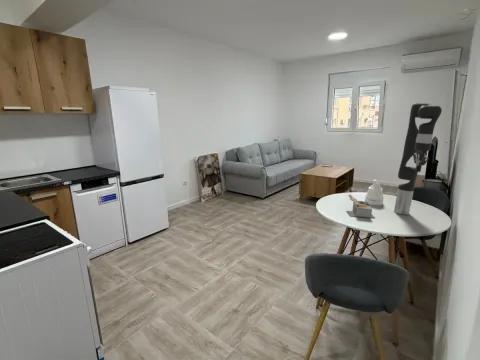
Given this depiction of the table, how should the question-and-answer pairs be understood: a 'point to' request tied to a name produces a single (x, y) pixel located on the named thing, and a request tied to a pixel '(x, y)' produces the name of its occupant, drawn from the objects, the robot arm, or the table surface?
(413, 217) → the table surface
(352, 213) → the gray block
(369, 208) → the coffee box
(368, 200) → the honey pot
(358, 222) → the table surface
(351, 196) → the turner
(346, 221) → the table surface
